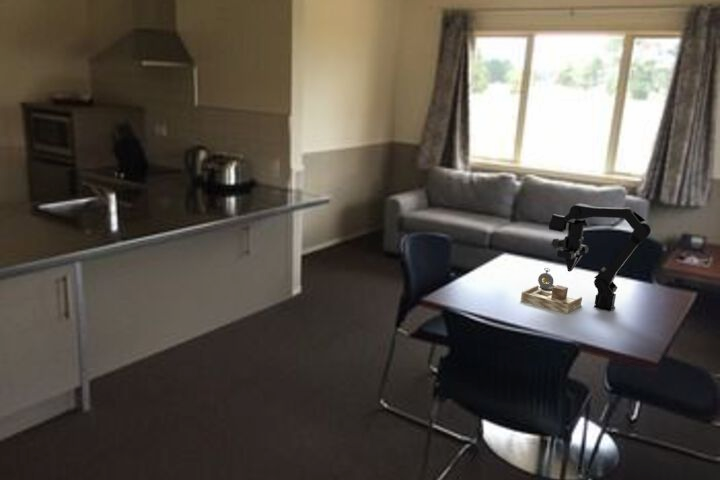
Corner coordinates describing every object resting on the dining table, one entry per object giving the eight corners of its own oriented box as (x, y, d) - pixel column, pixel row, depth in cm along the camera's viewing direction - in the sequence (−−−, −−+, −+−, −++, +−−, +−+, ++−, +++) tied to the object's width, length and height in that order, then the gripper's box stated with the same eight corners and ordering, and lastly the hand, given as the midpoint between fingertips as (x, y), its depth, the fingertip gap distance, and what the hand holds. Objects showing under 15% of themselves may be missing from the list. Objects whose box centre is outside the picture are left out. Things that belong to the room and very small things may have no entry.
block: (566, 298, 248) (568, 287, 247) (561, 300, 245) (563, 289, 244) (556, 295, 251) (557, 284, 250) (551, 297, 248) (552, 287, 247)
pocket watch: (553, 286, 269) (556, 264, 267) (557, 292, 261) (561, 270, 259) (535, 284, 270) (537, 263, 268) (538, 290, 262) (541, 268, 259)
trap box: (580, 305, 246) (582, 297, 245) (566, 313, 236) (567, 305, 235) (536, 293, 259) (537, 285, 258) (520, 300, 248) (521, 292, 248)
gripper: (565, 227, 259) (560, 262, 263) (546, 233, 245) (541, 270, 249) (591, 232, 252) (585, 268, 256) (573, 239, 238) (567, 277, 242)
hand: (569, 271), depth 251 cm, fingers closed
